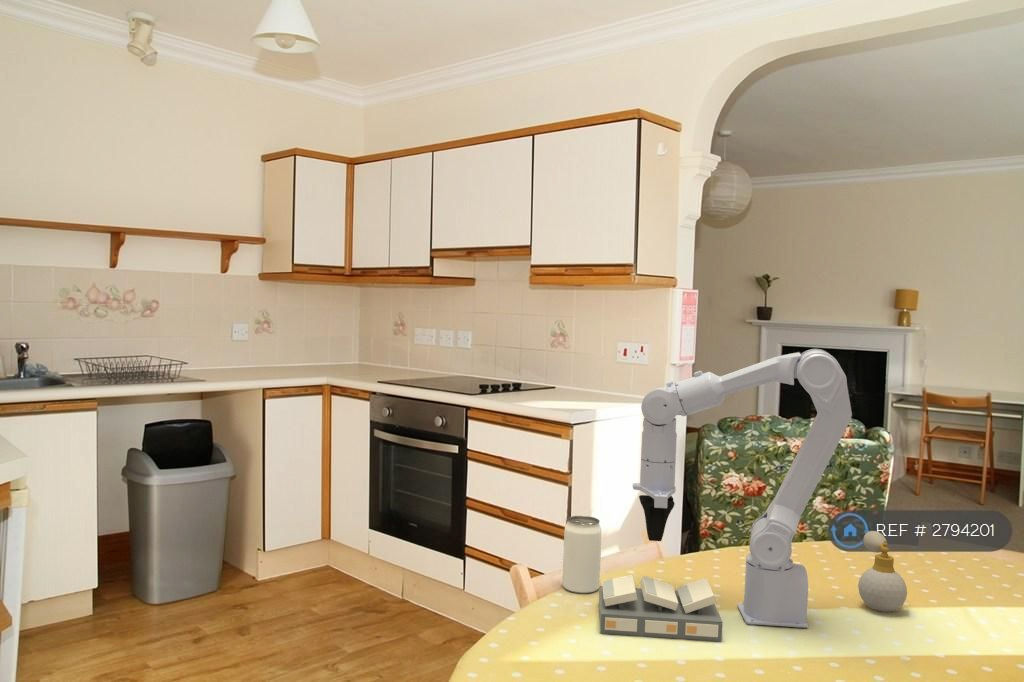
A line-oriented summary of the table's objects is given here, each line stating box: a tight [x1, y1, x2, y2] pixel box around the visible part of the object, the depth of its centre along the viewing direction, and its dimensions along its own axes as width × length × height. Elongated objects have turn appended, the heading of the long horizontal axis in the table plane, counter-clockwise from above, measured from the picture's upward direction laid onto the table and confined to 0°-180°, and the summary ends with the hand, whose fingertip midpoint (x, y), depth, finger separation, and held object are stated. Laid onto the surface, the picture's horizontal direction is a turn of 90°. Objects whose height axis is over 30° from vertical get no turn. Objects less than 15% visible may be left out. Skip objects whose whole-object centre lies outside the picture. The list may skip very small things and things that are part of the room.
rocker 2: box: [676, 577, 718, 613], centre depth 127 cm, size 5×8×1 cm, turn 175°
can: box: [562, 515, 603, 595], centre depth 141 cm, size 6×6×12 cm
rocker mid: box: [640, 575, 678, 610], centre depth 128 cm, size 5×8×1 cm, turn 175°
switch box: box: [598, 585, 723, 642], centre depth 128 cm, size 18×12×4 cm
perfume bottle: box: [857, 530, 908, 613], centre depth 137 cm, size 8×10×12 cm
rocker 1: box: [602, 574, 638, 606], centre depth 128 cm, size 5×8×1 cm, turn 175°
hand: (654, 539), depth 136 cm, fingers closed
